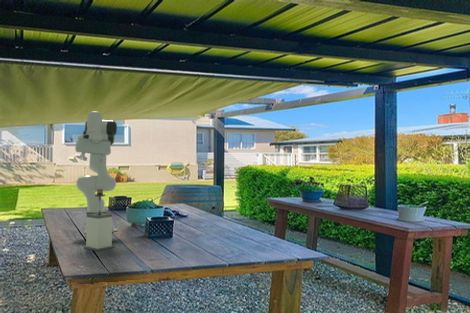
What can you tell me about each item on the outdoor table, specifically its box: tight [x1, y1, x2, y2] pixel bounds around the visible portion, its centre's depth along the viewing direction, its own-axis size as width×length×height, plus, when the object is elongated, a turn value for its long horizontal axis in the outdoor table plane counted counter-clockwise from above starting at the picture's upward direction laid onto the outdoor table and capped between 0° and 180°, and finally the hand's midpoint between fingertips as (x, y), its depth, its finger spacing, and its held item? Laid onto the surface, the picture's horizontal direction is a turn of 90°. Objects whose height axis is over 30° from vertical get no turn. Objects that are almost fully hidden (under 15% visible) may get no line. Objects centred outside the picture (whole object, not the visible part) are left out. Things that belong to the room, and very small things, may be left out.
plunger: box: [95, 189, 106, 215], centre depth 251 cm, size 7×7×19 cm
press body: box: [83, 212, 115, 252], centre depth 251 cm, size 12×12×20 cm
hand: (93, 161), depth 254 cm, fingers open, 8 cm apart
